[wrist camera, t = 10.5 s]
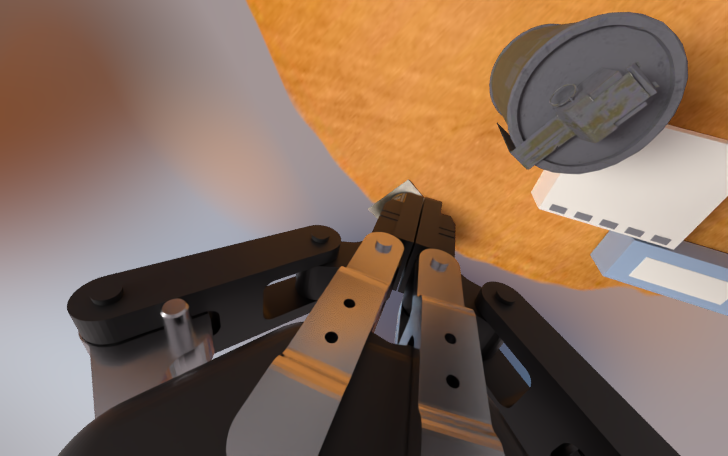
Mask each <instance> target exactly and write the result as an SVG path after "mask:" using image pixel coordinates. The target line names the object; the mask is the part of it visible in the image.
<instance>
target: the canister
mask: <svg viewBox="0 0 728 456" xmlns="http://www.w3.org/2000/svg"><path fill="white" fill-rule="evenodd" d="M687 79H688V61H687V57H686V54H685V51H684V47H683V44H682V43H681V41H680V40H679V38H678V37H677V35H676V34H675V33H674V32H673V31H672V30H671V29H670V28H668V27H667V26H666V25H665V24H664V23H663V22H661V21H659V20H656V19H654V18H651V17H649V16H646V15H644V14H638V13H631V12H617V13H607V14H602V15H597V16H594V17H591V18H588V19H585V20H582V21H579V22H576V23H569V24H562V25H561V24H545V25H540V26H537V27H534V28H531V29H529V30H527V31H525V32H523V33H521V34H520V35H519V36H517V37H516V38H515V39H513V40H512V41H511V42H510V43H509V44H508V45H507V46H506V47H505V48H504V49H503V51H502V52H501V54H500V55H499V57H498V58H497V60H496V62H495V64H494V67H493V69H492V72H491V77H490V84H489V86H490V96H491V99H492V102H493V105H494V106H495V108H496V110H497V111H498V112H499V113H500V114H501V115H502V116H503V117H504V119H505V121H506V123H507V125H508V130H509V134H510V135H509V134H508V133H507V132H506V131H505V130H504V129H503V128H502V127H501V126H500V125H499V124H498V123H497V125H498V127H499V129H500V131H501V134H502V136H503V138H504V141H505V143H506V145H507V147H508V150H509V152H510V153H511V154H512V155H513V156H514V157H515V158H516V159H517V160H518V161H519V162H520V163H521V164H522V165H523V166H524V167H525V168H526V169H530V168H531V167H533V166H534V165H535V166H537V167H539V168H541V169H543V170H547V171H550V172H553V173H563V174H583V173H588V172H593V171H599V170H602V169H604V168H607V167H610V166H613V165H616V164H618V163H619V162H621V161H623V160H625V159H627V158H628V157H630V156H632V155H634V154H636V153H637V152H639V151H640V150H642V149H643V148H644V147H645V146H647V145H648V144H649V143H650V142H651V141H652V140H653V139H654V138H655V137H656V136H657V135H658V134H659V133H660V132H661V131H662V130H663V129H664V128H665V126H666V125H667V124H668V122H669V121H670V120H671V118H672V117H673V116H674V114H675V112H676V110H677V108H678V106H679V104H680V102H681V99H682V97H683V93H684V90H685V86H686V83H687Z"/></svg>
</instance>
